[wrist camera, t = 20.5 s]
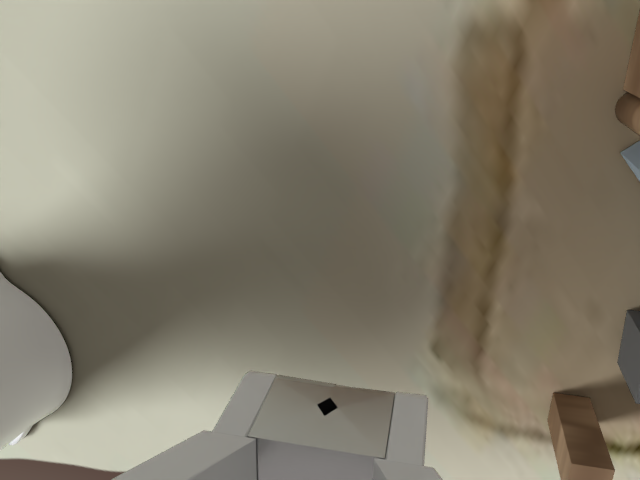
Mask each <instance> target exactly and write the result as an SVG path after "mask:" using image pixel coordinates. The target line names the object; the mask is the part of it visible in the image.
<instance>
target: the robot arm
mask: <svg viewBox="0 0 640 480" xmlns="http://www.w3.org/2000/svg"><path fill="white" fill-rule="evenodd" d="M71 382H72V365H71V359H70V355H69V351H68V348H67V346H66V343H65V341H64V339H63V337H62V335H61V333H60V331H59V329H58V328H57V326H56V325H55V323H54V322H53V321H52V319H51V318H50V317H49V315H48V314H47V313H46V312H45V311H44V310H43V309H42V308H41V307H40V306H39V305H38V304H37V303H36V302H35V301H34V300H33V299H32V298H30V297H29V296H28V295H27V294H25V293H24V292H22V291H21V290H19V289H18V288H17V287H15V286H14V285H13V284H11V283H10V282H9V281H8V280H7V279H6V278H5V277H4V276H3V275H2V273H1V272H0V451H1V450H2V449H3V448H4V447H6V446H7V445H14V444H16V443H18V442H19V441H20V440H21V439H23V438H24V437H25V436H26V435H27V434H28V432H29V431H30V429H31V427H32V426H33V425H34V424H35V423H37V422H38V421H40V420H41V419H43V418H44V417H46V416H48V415H49V414H51V413H53V412H54V411H56V410H57V409H58V408H59V407H60V406H61V405H62V404H63V402H64V401H65V399H66V397H67V395H68V393H69V390H70V387H71ZM427 410H428V398H427V396H426V395H420V394H411V393H402V392H396V394H395V393H394V392H386V391H379V390H371V389H364V388H356V387H349V386H341V385H336V384H332V383H326V382H319V381H313V380H307V379H301V378H295V377H289V376H283V375H278V376H277V375H276V374H269V373H262V372H255V371H249V372H247V373H246V374H245V375H244V376H243V378H242V380H241V381H240V383H239V385H238V387H237V388H236V390H235V392H234V394H233V396H232V397H231V399H230V401H229V403H228V404H227V406H226V408H225V410H224V411H223V413H222V415H221V417H220V419H219V420H218V422H217V424H216V426H215V427H214V429H213V431H212V432H211V431H204V430H203V431H202V432H200V433H198V434H196V435H194V436H192V437H190V438H188V439H187V440H185V441H183V442H181V443H179V444H177V445H175V446H173V447H172V448H170V449H168V450H166V451H164V452H162V453H160V454H158V455H157V456H155V457H153V458H151V459H149V460H147V461H145V462H143V463H142V464H140V465H138V466H136V467H134V468H132V469H130V470H128V471H127V472H125V473H123V474H121V475H119V476H117V477H116V478H114V479H112V480H442V478H441V477H440V476H439V474H438V473H437V472H436V470H435V469H434V468H432V467H426V466H424V458H425V442H426V426H427Z"/></svg>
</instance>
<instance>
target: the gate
mask: <svg viewBox="0 0 640 480" xmlns="http://www.w3.org/2000/svg"><path fill="white" fill-rule="evenodd" d="M620 153H621V155H622V156H623V158H624V159H625V161H626V162H627V164H628V165H629V167H630V168H631V170H632V171H633V173H634V174H635V175H636V177H637V178H638V180H639V181H640V141H638V142H637V143H635V144H633V145H632V146H630V147H629V148H627V149H625V150H624V151H622V152H620Z"/></svg>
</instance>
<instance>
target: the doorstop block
mask: <svg viewBox="0 0 640 480" xmlns="http://www.w3.org/2000/svg"><path fill="white" fill-rule="evenodd" d="M617 363H618V365H619V368H620V370H621V372H622V374H623V376H624V379H625V381H626V383H627V385H628V387H629V389H630V392H631V394H632V396H633V398H634V400H635V403H637V404H640V311H633V310H627V314H626V319H625V324H624V330H623V335H622V341H621V346H620V351H619V357H618V362H617Z"/></svg>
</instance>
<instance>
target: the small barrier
mask: <svg viewBox="0 0 640 480" xmlns="http://www.w3.org/2000/svg"><path fill="white" fill-rule="evenodd" d="M623 90H625V91H627V92H628V93H626V94H624V95H623V96H622V97H621V98H620V99H619V100H618V102H617V104H616V108H615V113H616V117H617V118H618V120H619V121H620V122H621V123H623V124H624V125H625V126H627V127H628V128H630V129H631V130H632V131H634V132H635V133H637V134H638V135H639V136H640V11H639V16H638V21H637V25H636V30H635V35H634V40H633V44H632V49H631V54H630V59H629V63H628V68H627V73H626V78H625V82H624V87H623ZM548 425H549V429H550V434H551V438H552V442H553V447H554V451H555V456H556V460H557V464H558V469H559V473H560V477H561V480H612V479H613V475H614V472H615V469H614V467H613V464H612V461H611V458H610V455H609V452H608V449H607V446H606V443H605V441H604V438H603V435H602V432H601V429H600V426H599V423H598V420H597V418H596V415H595V412H594V409H593V406H592V403H591V400H590V398H588V397H581V396H574V395H566V394H559V393H553V396H552V401H551V406H550V411H549V416H548Z"/></svg>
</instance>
